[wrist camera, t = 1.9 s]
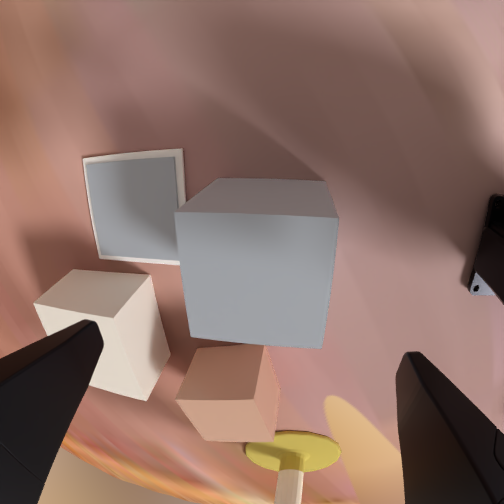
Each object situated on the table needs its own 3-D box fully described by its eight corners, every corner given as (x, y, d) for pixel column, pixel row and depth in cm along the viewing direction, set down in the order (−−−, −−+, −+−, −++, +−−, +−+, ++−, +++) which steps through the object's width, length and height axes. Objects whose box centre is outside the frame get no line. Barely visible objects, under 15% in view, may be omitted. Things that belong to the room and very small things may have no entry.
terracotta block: (264, 341, 20) (253, 399, 15) (280, 388, 22) (273, 441, 17) (197, 347, 21) (175, 399, 16) (220, 391, 23) (205, 440, 18)
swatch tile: (183, 148, 15) (180, 149, 15) (192, 264, 18) (190, 267, 17) (84, 158, 16) (80, 159, 16) (101, 257, 19) (97, 260, 18)
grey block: (325, 180, 15) (339, 218, 9) (317, 276, 17) (321, 348, 12) (218, 177, 16) (174, 211, 10) (223, 270, 18) (190, 336, 12)
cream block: (151, 273, 19) (113, 318, 14) (171, 353, 22) (146, 401, 17) (74, 268, 20) (33, 302, 16) (100, 340, 23) (70, 378, 18)
